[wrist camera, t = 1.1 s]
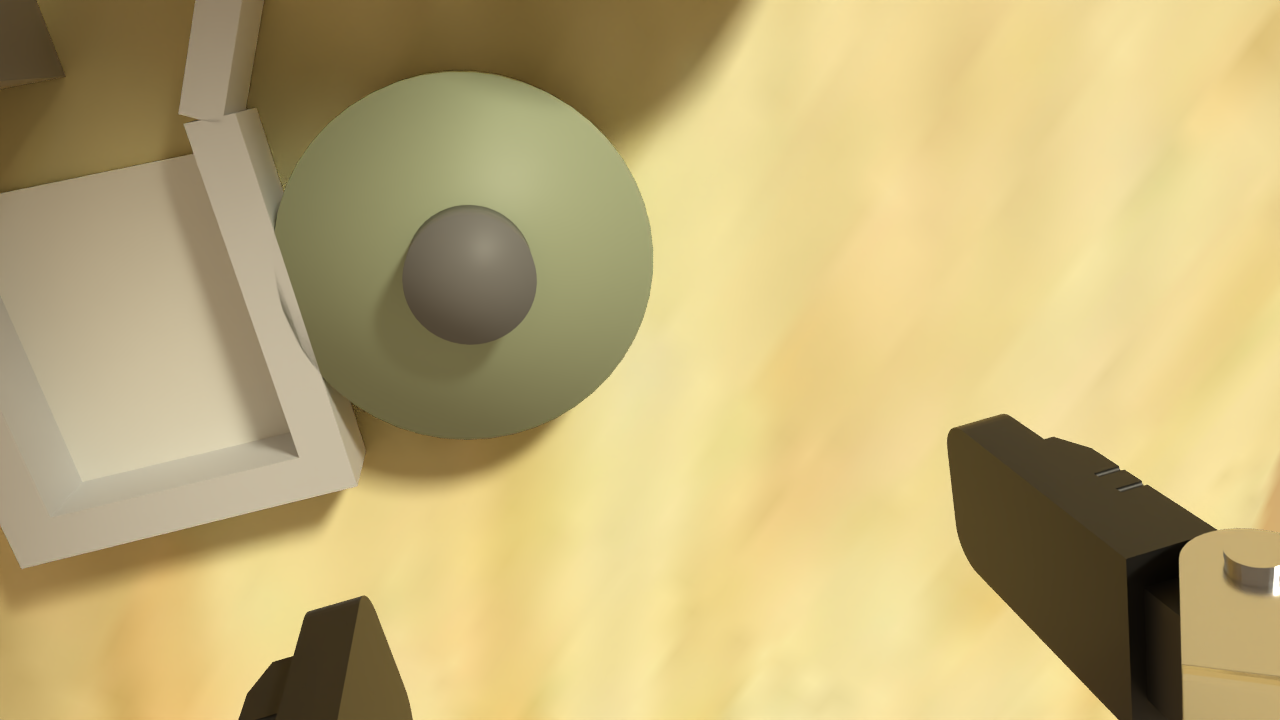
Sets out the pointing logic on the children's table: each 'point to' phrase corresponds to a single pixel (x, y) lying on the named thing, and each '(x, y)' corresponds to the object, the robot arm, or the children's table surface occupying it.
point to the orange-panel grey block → (25, 45)
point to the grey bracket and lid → (302, 298)
